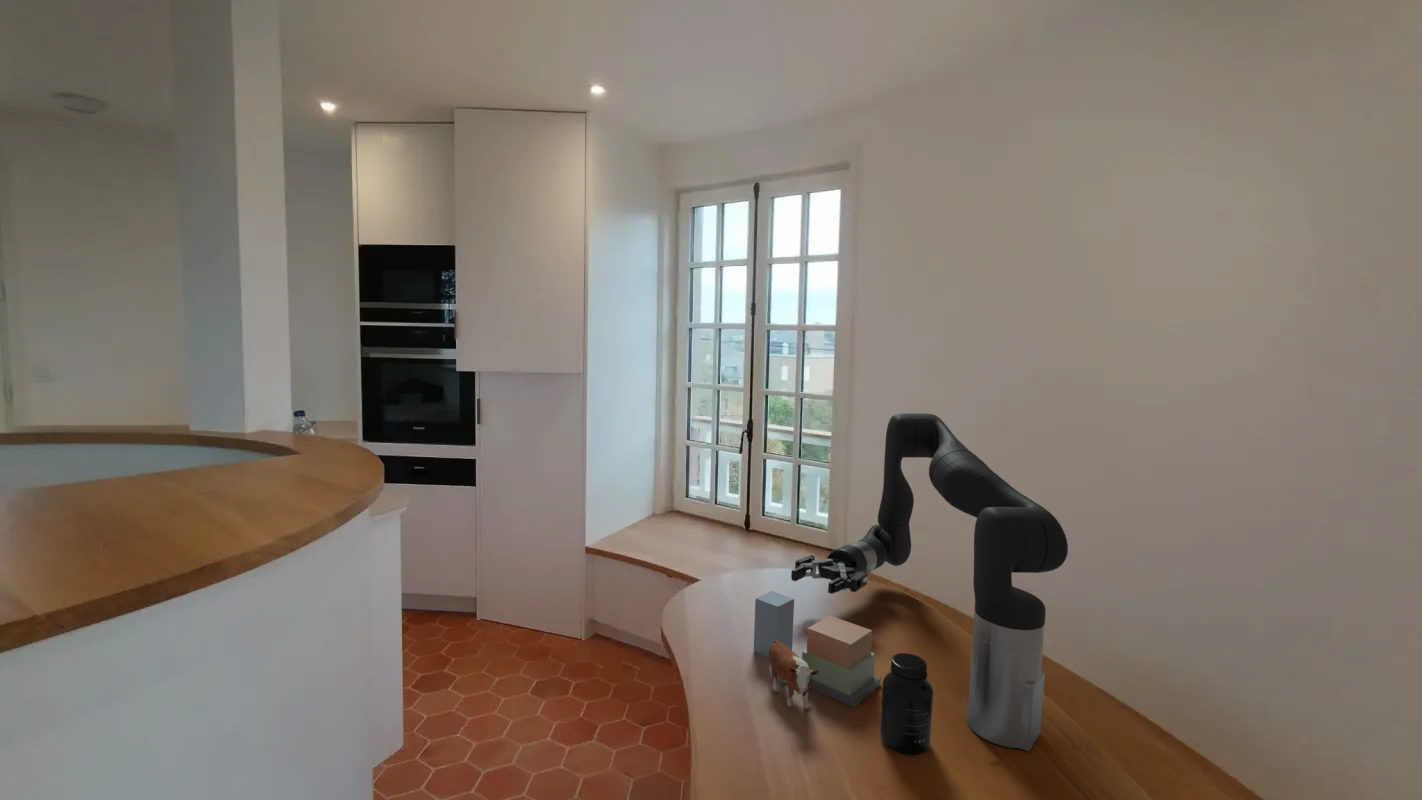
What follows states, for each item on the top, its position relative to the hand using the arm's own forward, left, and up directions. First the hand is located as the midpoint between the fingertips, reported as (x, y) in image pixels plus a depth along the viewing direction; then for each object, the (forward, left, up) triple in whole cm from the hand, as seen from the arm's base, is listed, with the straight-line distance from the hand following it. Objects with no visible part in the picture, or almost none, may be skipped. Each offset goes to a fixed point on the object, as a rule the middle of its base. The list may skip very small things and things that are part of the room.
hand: (811, 582), depth 121 cm
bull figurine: (-12, +23, -10) cm, 28 cm away
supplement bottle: (-29, +20, -10) cm, 37 cm away
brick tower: (-14, +13, -10) cm, 22 cm away
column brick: (0, +12, -10) cm, 16 cm away
